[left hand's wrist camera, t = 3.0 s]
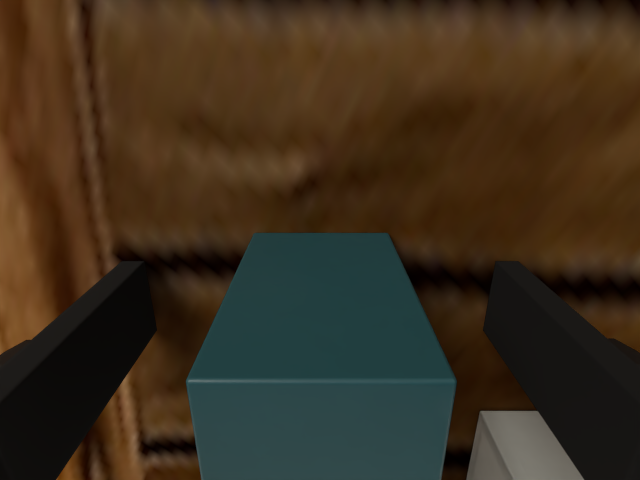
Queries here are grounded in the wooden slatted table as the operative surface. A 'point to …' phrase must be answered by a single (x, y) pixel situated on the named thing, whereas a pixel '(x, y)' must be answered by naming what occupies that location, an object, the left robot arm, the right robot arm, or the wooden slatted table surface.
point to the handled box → (517, 449)
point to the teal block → (321, 367)
